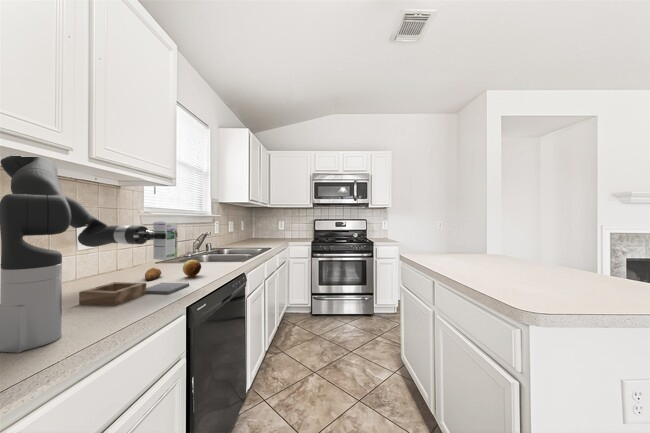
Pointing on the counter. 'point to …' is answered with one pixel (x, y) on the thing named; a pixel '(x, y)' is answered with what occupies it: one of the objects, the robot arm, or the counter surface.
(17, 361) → the counter surface
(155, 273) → the croissant
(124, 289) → the walnut holder
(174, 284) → the charcoal mat
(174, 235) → the syrup box
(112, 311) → the counter surface
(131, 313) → the counter surface
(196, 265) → the fruit
